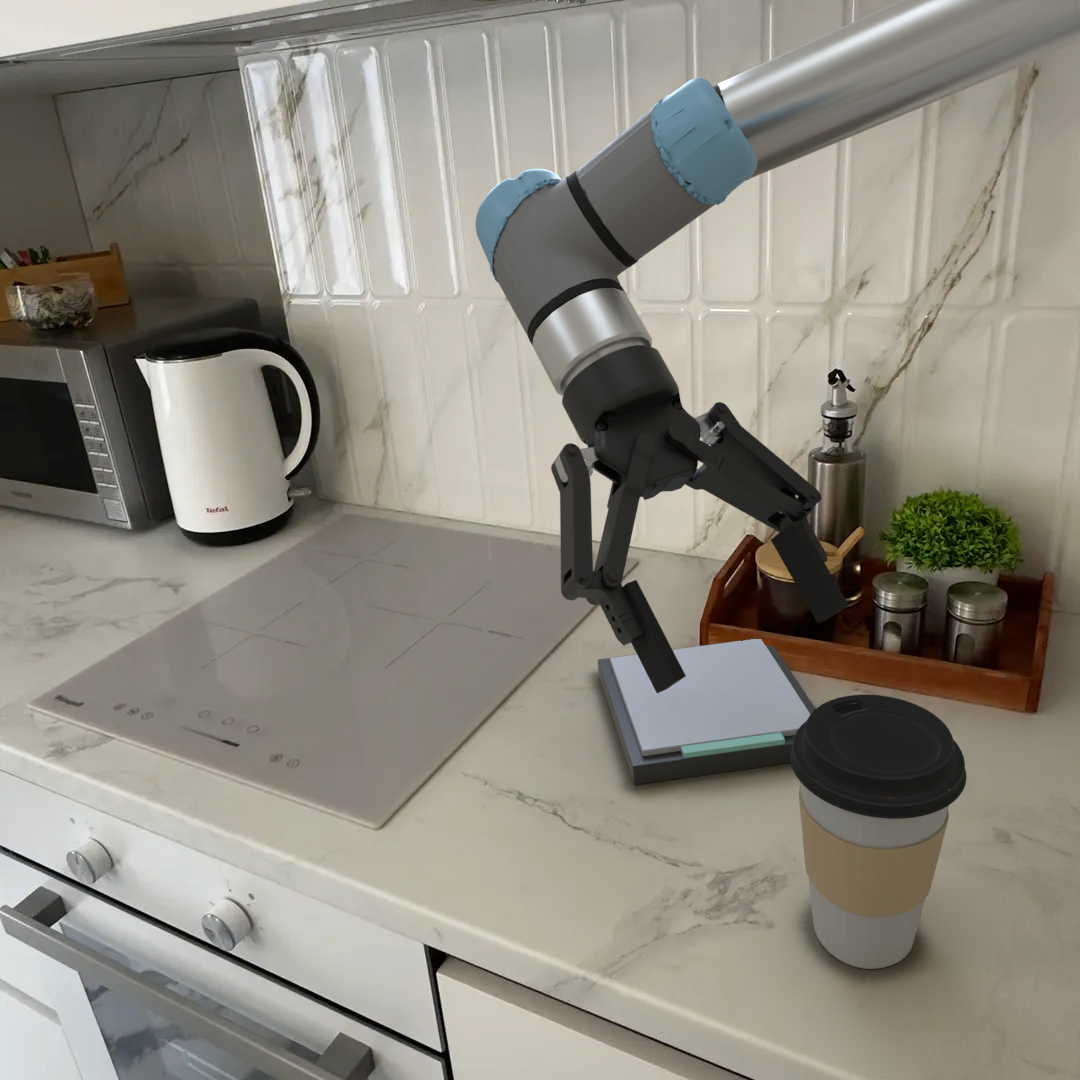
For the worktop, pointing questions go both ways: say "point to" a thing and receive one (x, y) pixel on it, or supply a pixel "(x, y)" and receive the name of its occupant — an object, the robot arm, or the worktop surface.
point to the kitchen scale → (706, 711)
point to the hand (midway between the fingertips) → (756, 648)
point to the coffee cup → (873, 820)
